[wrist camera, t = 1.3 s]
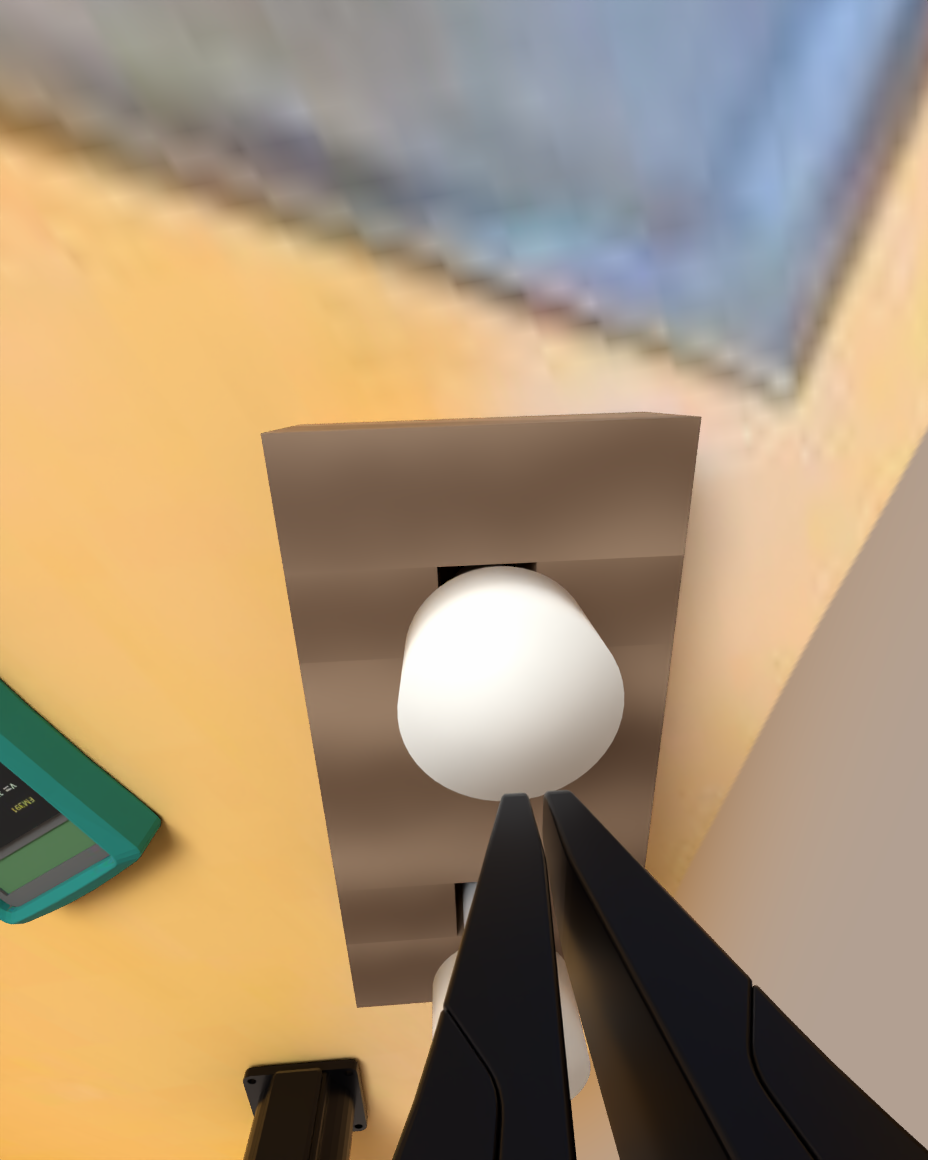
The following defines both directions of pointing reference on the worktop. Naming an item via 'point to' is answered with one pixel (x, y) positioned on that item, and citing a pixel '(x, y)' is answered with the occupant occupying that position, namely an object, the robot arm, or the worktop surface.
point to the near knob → (506, 685)
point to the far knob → (571, 1020)
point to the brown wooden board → (401, 585)
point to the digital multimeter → (58, 817)
